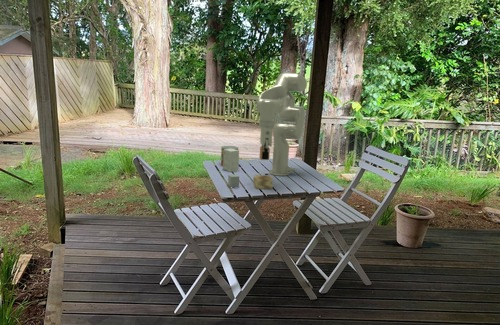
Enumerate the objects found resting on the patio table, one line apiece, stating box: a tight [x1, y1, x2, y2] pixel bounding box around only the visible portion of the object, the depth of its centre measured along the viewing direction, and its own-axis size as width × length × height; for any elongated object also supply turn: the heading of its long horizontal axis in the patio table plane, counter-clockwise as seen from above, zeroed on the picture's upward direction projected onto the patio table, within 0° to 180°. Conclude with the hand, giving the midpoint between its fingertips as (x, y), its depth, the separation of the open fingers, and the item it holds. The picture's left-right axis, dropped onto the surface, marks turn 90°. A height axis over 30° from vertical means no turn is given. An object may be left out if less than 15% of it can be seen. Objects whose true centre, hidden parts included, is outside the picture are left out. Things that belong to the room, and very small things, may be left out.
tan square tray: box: [253, 174, 274, 190], centre depth 201 cm, size 9×9×5 cm
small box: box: [222, 149, 240, 173], centre depth 233 cm, size 8×6×13 cm
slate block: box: [227, 174, 240, 188], centre depth 198 cm, size 4×4×6 cm
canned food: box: [220, 145, 239, 167], centre depth 246 cm, size 11×11×12 cm
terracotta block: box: [258, 146, 271, 161], centre depth 198 cm, size 4×4×6 cm
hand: (264, 158), depth 198 cm, fingers closed on terracotta block, 4 cm apart
